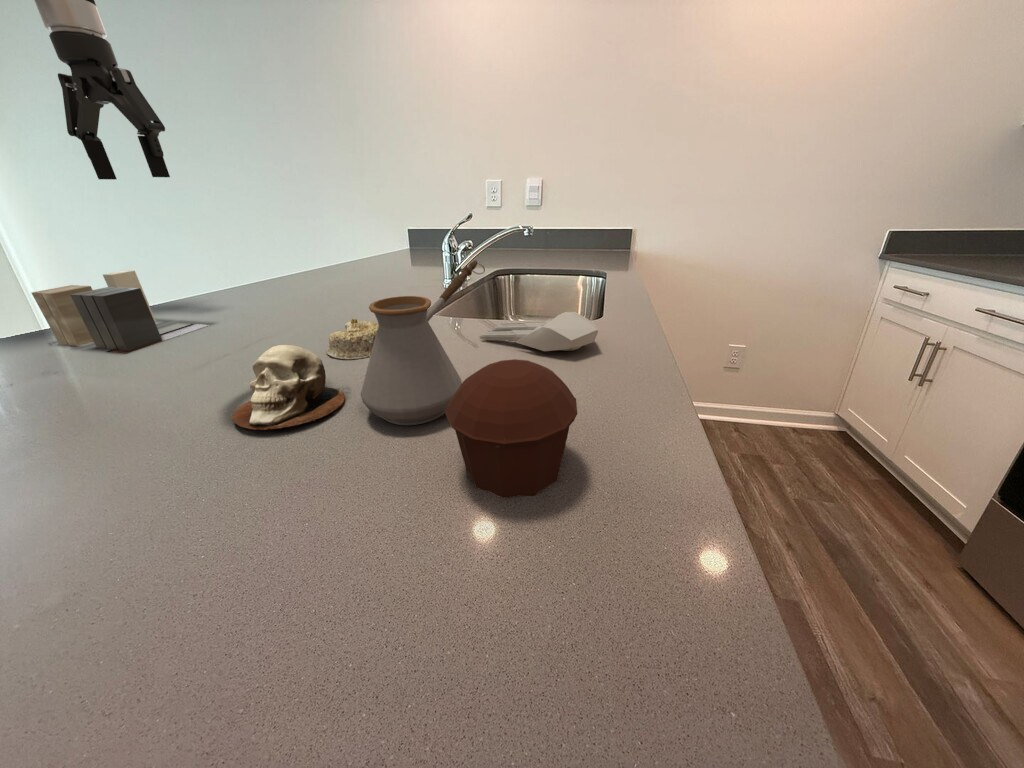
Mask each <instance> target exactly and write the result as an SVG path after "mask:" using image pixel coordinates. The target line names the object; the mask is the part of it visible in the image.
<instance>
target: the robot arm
mask: <svg viewBox="0 0 1024 768" xmlns="http://www.w3.org/2000/svg"><path fill="white" fill-rule="evenodd" d="M34 3H35V6H36V8H37V11H38V14H39V15H40V18H41V21H42V23H43V26H44V28H46V29H47V30H48V31H50V33H49V34H48V36H49V39H50V41H51V44H52V46H53V48H54V51H55V53H56V56H57V58H58V60H59V61H60V62H62V63H63V64H66V65H67V66H68V67H69V69H70V72H71V74H65V73H61V72H58V73H57V78H58V81H59V84H60V87H61V91H62V99H63V109H64V114H65V122H66V123H65V124H66V129H67V130H66V131H67V134H68V135H69V136H70V137H75V138H77V139H78V140H80V141H81V143H82V146H83V147H84V150H85V152H86V154H87V157H88V159H89V160H90V162H91V165H92V167H93V170H94V172H95V174H96V177H97V179H98V180H118V178H117V176H116V173H115V171H114V169H113V166H112V164H111V161H110V159H109V156H108V154H107V151H106V149H105V145H104V144H103V142H102V139H101V138H100V137H98V130H99V122H100V114H101V110H102V108H104V106H105V105H109V104H112V105H113V106H114V107H115V108H116V109H117V110H118V111H119V112H120V113H121V115H123V117H125V119H126V120H127V121H128V122H129V123H130V124H131V125H132V126H133V127H134V128H135V129H136V130H137V131H136V135H137V139H138V141H139V144H140V147H141V149H142V153H143V155H144V158H145V161H146V163H147V166H148V169H149V171H150V174H151V177H152V178H171V176H170V172H169V170H168V167H167V164H166V161H165V159H164V152H163V148H162V146H161V143H160V140H159V137H160V133H161V132H162V133H163V132H165V131H166V126H165V124H164V123H163V122H162V121H161V119H160V118H159V116H158V114H157V113H156V112H155V110H154V108H153V107H152V106H151V104H150V103H149V102H148V100H147V98H146V97H145V95H144V94H143V93H142V91H141V89H140V88H139V87H138V85H137V83H136V81H135V79H134V76H133V74H132V72H131V70H129V69H126V68H121V67H119V64H118V60H117V58H116V55H115V53H114V50H113V47H112V44H111V43H110V42H109V41H108V40H107V39H106V38H107V37H108V33H107V31H106V29H105V26H104V23H103V20H102V18H101V16H100V12H99V9H98V8H97V4H96V1H95V0H34Z"/></svg>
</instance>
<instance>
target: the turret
mask: <svg viewBox="0 0 1024 768" xmlns="http://www.w3.org/2000/svg"><path fill="white" fill-rule="evenodd" d="M598 333H599V329H598V327H597V326H596V324H595V323H594V322H593V321H592V320H590V319H588V318H587V317H585V316H583V315H581V314H580V313H578V312H576V311H564V312H561V313H560V314H558V315H555V316H554V317H552V318H549V319H547V321H531V322H530V321H529V322H528V321H525V322H521V323H520V322H518V323H517V322H516V323H500V324H498V325H497V326H495V327H493V328H492V330H487V331H485V332H484V333H482V334H480V335H479V336H478V338H479V339H480V340H482V341H508V342H514V343H517V344H518V345H522V346H526V347H529V348H532V349H536V350H539V351H541V352H551V351H553V352H554V351H564V352H570V351H575V350H578V349H580V348H581V347H582V346H587V345H588V344H591V343H594V342H595V341H596V338H597V336H598Z"/></svg>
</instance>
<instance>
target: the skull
mask: <svg viewBox="0 0 1024 768" xmlns="http://www.w3.org/2000/svg"><path fill="white" fill-rule="evenodd" d="M252 371H253V373H254V375H255V379H254V380H251V381H250V383H249V388H250V390H251V391H253V394H252V396H251V398H250V400H249V401H247V402H245V403H243V404H242V405H240V406H238V408H236V410H235V411H234V412H233V414H232V417H231V419H232V422H233V423H234V424H235V425H237V426H239V427H241V428H245V429H248V430H255V431H257V430H259V431H268V430H276V429H282V428H290V427H295V426H300V425H302V424H306V423H310V422H313V423H315V422H317V420H318V419H323V417H328V416H330V414H331V413H333V412H334V411H336V410H337V409H339V408H340V407H341V406H342V405H343V404H344V402H345V398H346V395H345V394H344V393H343V391H341V390H340V389H336V388H332V387H328V386H326V384H327V383H326V382H327V381H326V379H327V378H326V377H327V374H326V369H325V366H324V363H323V360H322V359H321V358H320V357H319V356H317V355H316V354H315V353H313V352H312V351H310V350H308V349H306V348H304V347H300V346H297V345H291V344H290V345H289V344H278V345H274V346H272V347H270V348H268V349H266V351H264V352H263V353H262V354H261V355H260V356H259V357H258V358H257V359H256V360H255V361H254V363H253V365H252Z"/></svg>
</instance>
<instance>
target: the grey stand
mask: <svg viewBox="0 0 1024 768" xmlns="http://www.w3.org/2000/svg"><path fill="white" fill-rule="evenodd" d="M71 297H72V299H73V301H74V303H75V305H76V307H77V309H78V311H79V313H80V315H81V317H82V319H83V321H84V323H85V325H86V327H87V329H88V331H89V333H90V335H91V337H92V339H93V341H94V342H93V343H94V345H95V348H97V349H103V350H106V353H114V354H123V355H127V354H131V353H133V352H136V351H139V350H141V349H144V348H148V347H151V346H154V345H156V344H159V343H162V342H165V341H168V340H171V339H174V338H177V337H180V336H183V335H186V334H189V333H191V332H195V331H197V330H201V329H204V328H207V327H210V326H211V324H201V323H199V324H198V323H191V324H187V325H184V326H181V327H179V328H174V329H172V330H168V331H166V332H162V333H160V331H159V329H158V327H157V324H156V322H154V319H153V317H152V314H151V312H150V310H149V307H148V305H147V303H146V300H145V298H144V296H143V293H142V291H141V289H140V288H126V287H108V286H106V287H105V286H104V287H101V288H96V289H92V290H90V291H85V292H80V293H75V294H71Z"/></svg>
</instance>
